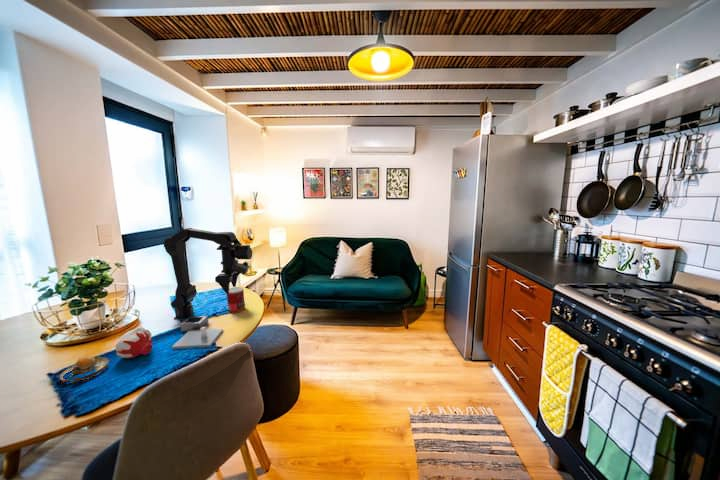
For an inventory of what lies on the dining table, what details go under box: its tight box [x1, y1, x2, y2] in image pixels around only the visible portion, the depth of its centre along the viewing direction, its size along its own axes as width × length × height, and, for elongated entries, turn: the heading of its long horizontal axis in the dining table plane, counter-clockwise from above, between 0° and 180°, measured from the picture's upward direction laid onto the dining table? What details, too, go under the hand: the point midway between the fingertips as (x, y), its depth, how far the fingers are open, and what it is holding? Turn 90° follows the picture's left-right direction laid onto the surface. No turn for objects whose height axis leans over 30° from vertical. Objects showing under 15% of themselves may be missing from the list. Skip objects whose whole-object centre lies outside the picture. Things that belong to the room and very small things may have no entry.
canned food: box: [226, 286, 246, 314], centre depth 133 cm, size 8×8×11 cm
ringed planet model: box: [57, 355, 110, 383], centre depth 86 cm, size 12×12×8 cm
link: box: [180, 315, 209, 333], centre depth 116 cm, size 8×7×4 cm
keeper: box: [171, 326, 224, 350], centre depth 106 cm, size 14×12×5 cm
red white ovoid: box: [115, 325, 153, 360], centre depth 96 cm, size 9×11×15 cm
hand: (231, 290), depth 124 cm, fingers open, 9 cm apart
